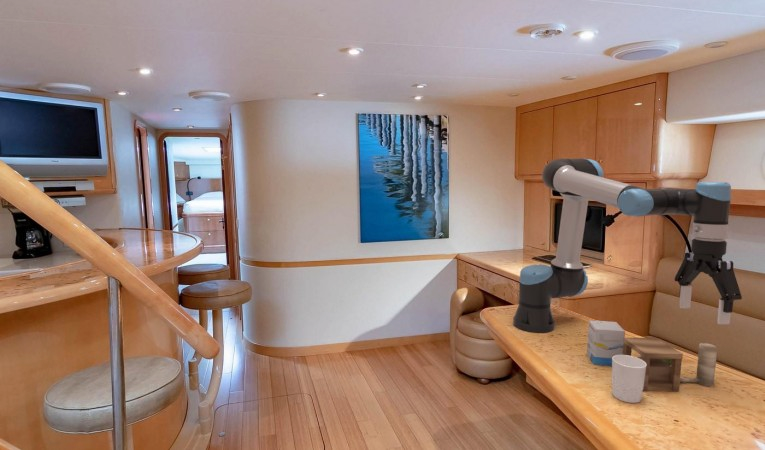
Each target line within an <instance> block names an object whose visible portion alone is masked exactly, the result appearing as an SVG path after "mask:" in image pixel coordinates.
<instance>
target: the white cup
mask: <svg viewBox="0 0 765 450" xmlns="http://www.w3.org/2000/svg"><path fill="white" fill-rule="evenodd" d="M637 357H638V356H637ZM637 357H636V356H634V355H633V356H632V355H631V356H629V355H615V356H613V357H612V366H611V385H612V389H611V390H612V395H613V396H614V398H615V399H617V400H620V401H622V402H625V403H629V404H630V403H631V404H637V403H640V402H641V401H642V398H643V397H642V396H643V392H644V391H643V387H644V381H645V373H646V366H647V364H646V362H645V361H643V360H641V359H639V358H637Z"/></svg>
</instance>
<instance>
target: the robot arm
mask: <svg viewBox="0 0 765 450" xmlns="http://www.w3.org/2000/svg"><path fill="white" fill-rule="evenodd" d="M541 176H542V177H541V178H542V182H543V183H544V185H545V186H546V188H548V189H550V190H553V191H556V192H559V194H560V195H561V197H562V198H563V201H562V206H561V208H562V209H561V214H560V224H559V232H558V240H557V246H556V247H557V248H556V254H555V258H553V259H552V260H551V261H550V265H547V264H529V265H526V266H524V267H523V268H521V270H520V273H519V278H518V279H519V281H518V282H519V288H518V289H519V290H518V291H519V292H518V306H517V308H516V311H515V313H514V316H513V322H512V324H513V326H515V328H517V329H519V330H522V331H526V332H531V333H549V332H552V331H554V329H555V319H554V317H553V312H552V310H551V308H552V307H551V303H552V302H551V301H552V299H559V298H560V299H561V298H567V297H568V298H572V297H575V296H579V295H581V294H583V293H584V292H585V290H587V287H588V283H589V278H588V275H587V272H586V270H585V268H584V265H583V264H582V262H581V260H580V259H581V254H582V253H581V252H582V246H583V239H584V232H585V225H586V218H587V212H588V204H589V201H590V200H593V201H595V202H598V203H601V204H604V205H607V206H609V207H614V208H616V209H619V210H620V211H621V213H622V214H624V215H625V216H628V217H630V216H631V217H637V218H638V217H639V218H640V217H647V216H648V217H649V216H666V215H667V216H670V215H673V216H674V215H678V216H690V217H693V218H692V219H693V222H692V223H693V226H692V227H693V228H692V237H693V239H691V247H690V250H691V252H685V253H684V257H683V261H682V262H681V264H680V267H679V268H678V270H677V272H676V274H675V276H674V281H675V282H677V283H678V285H679V306H678V307H679V308H680V309H691V305H692V301H691V300H692V291H693V286H692V282H693V281H694V280H695V279H696V278H697V277H698V276H699V275H700V274H701V273H703V274H705V275H708V276H709V277H710V278H711V279H712V281H713V283H714V285H715V287H716V288H717V290H718V292H719V295H720V296H721V298H719V299H718V311H717V322H716V323H717V324H718V325H730V324H731V314H732V313H733V309H734V308H733V307H734V301H737V300H739V301H740V300H742V298H743V296H742V292H741V290H740V286H739V284H738V281H737V278H736V274H735V271H734V262H733V261H732V260H723V256H725V255H726V253H727V246H728V242H727V241H726V240H727V239H728V235H729V233H728V232H729V217H730V209H731V207H730V206H731V201H732V185H731V184H730V183H729V182H727V181H726V182H725V181H700V182H697V183H696V185H695V188H675V187H666V188H664V187H663V188H646V187H645V188H644V187H639V186H635V185H633V184H630V183H625V182H621V181H618V180H615V179H614V180H613V179H611V178H607V177H604V170H603V168H602V167H601V165H600V164H599V162H598V161H596V160H594V159H590V158H589V159H588V158H556V159H553V160H551V161H549V162H547V164H546V165H545V166H544V167H543V170H542V173H541Z"/></svg>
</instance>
